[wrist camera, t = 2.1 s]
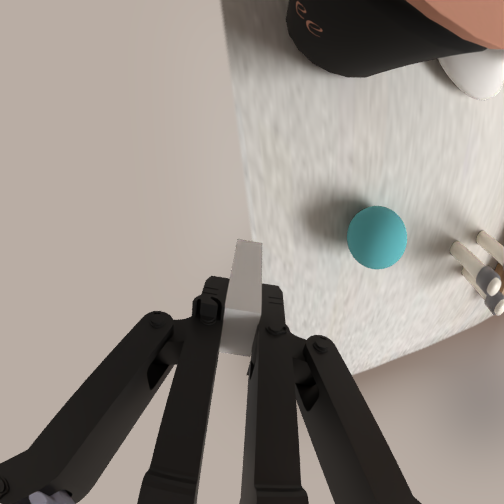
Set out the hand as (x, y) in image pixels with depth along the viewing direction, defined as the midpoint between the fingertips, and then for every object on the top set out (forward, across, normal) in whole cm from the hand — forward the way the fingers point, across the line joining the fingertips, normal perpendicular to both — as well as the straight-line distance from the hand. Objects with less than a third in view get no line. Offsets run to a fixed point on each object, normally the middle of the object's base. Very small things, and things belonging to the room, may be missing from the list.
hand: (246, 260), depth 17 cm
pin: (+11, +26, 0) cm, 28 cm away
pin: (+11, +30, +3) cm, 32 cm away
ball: (+8, +12, 0) cm, 14 cm away
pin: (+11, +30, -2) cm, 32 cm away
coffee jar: (+11, +5, +20) cm, 23 cm away
